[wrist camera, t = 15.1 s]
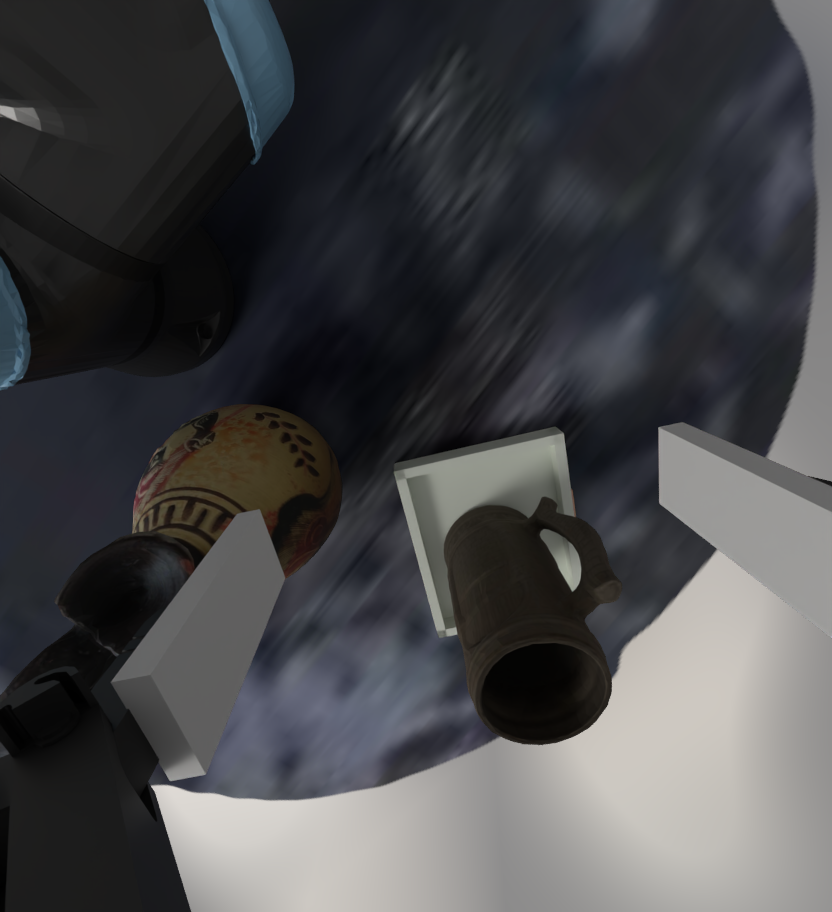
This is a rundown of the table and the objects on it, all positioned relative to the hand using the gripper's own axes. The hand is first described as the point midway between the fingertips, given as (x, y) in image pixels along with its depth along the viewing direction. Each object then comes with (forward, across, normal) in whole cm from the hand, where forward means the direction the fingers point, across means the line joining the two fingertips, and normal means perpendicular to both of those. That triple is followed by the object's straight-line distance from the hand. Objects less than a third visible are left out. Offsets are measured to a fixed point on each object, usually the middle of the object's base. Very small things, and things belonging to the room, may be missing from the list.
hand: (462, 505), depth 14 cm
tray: (+29, +4, -19) cm, 35 cm away
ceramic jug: (+30, -17, -7) cm, 35 cm away
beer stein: (+29, +5, -19) cm, 35 cm away
